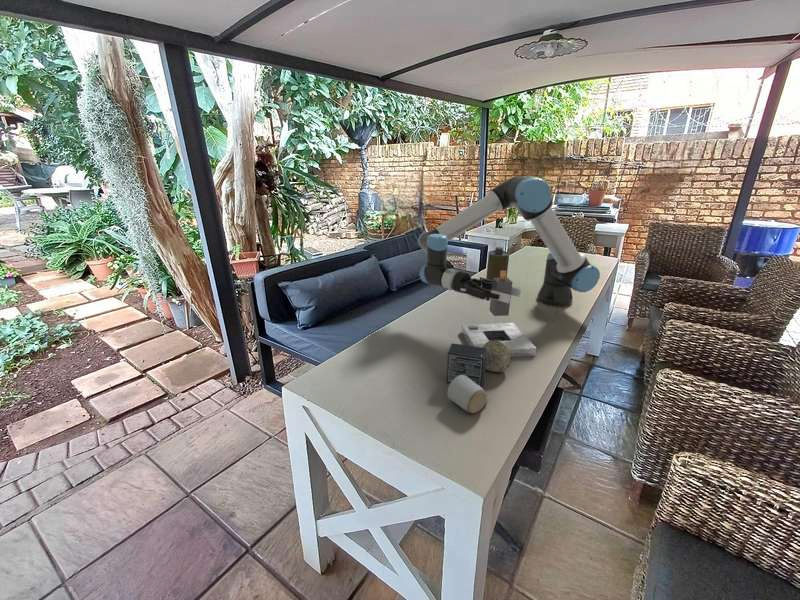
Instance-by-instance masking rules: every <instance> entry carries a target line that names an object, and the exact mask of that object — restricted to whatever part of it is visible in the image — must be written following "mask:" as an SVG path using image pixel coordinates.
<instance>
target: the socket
mask: <svg viewBox="0 0 800 600" xmlns="http://www.w3.org/2000/svg"><path fill="white" fill-rule="evenodd" d="M461 334H462V335H463V337H464V339H465V340H466V342H467V345H468V346H474V347H481V348H483V346H484V345H485V344H486V343H487V342H488V341H499V342H501V343H503V344H504V345H505V346H506V347H507V348H508V349H509V351H510V355H511V358H516V357H517V358H519V357H520V358H521V357H535V356H536V353H537V347H536V346H535V345H534V344H533V343H532V341H530V340H531V339H529V338H528V337H527V336H526V335H525V333H523V332H522V331H521V329H520V328H519V327H518V326H517V325H516V324H515V322H499V323H478V324H477V323H475V324H473V323H471V324H470V323H469V324H461Z"/></svg>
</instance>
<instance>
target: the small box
mask: <svg viewBox="0 0 800 600" xmlns="http://www.w3.org/2000/svg"><path fill="white" fill-rule="evenodd" d="M486 352H487V348H481V347H474V346H469V345H468V344H460V343H451V344H450V347H449V348H448V350H447V368H446V372H447V373H446V380H445V381H446V382H445V383H446V384H449V385H450V383H451V382H452V380H453V379H454V378H456V377H457V376H459V375H465V376H467V377H468V378H469V379H471V380H472V381H473V382H475V383H476V384H477V385H479V386H480V387H481V388H482V389H483V386H484V382H485V373H486V369H485V364H486Z"/></svg>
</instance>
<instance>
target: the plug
mask: <svg viewBox="0 0 800 600" xmlns="http://www.w3.org/2000/svg"><path fill="white" fill-rule="evenodd" d="M512 287H513V281H512V280H511V279H510V278H508V276H507V277H506V271H504V270H502V271H501V272H500V278H493V280H492V290H493V291H497V292H501V293H505V294H509V295H510V300H511V298H512V295H511V291H512ZM492 290H490V292H491V291H492ZM489 301H490V302H489V311H490V313H491V314H492V315H493V316H494V317H500V316H501V317H506V316H509V315H510V314H509V313H510V307H511V306H510V305H511V301H510V302H509V303H505V302H502V301H498V300H494V299H491V298H490V300H489Z"/></svg>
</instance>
